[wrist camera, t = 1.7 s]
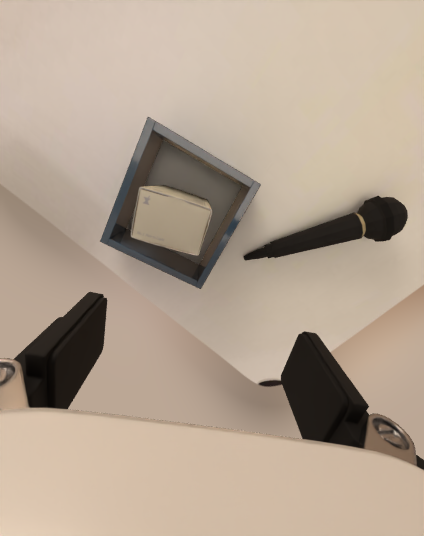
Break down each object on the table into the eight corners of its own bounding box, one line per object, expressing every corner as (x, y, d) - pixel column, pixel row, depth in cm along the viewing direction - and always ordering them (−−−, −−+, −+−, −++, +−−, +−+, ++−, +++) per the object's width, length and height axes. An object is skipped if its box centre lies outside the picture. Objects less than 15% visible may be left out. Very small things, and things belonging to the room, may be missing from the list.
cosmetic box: (155, 217, 31) (126, 238, 19) (163, 182, 29) (136, 184, 18) (201, 230, 32) (198, 259, 20) (210, 198, 30) (213, 209, 19)
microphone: (246, 259, 36) (386, 219, 32) (252, 285, 32) (414, 242, 28) (236, 231, 33) (391, 182, 29) (241, 256, 29) (424, 202, 24)
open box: (118, 230, 31) (99, 241, 26) (159, 129, 27) (147, 116, 22) (201, 271, 34) (200, 289, 28) (250, 183, 30) (261, 184, 24)
